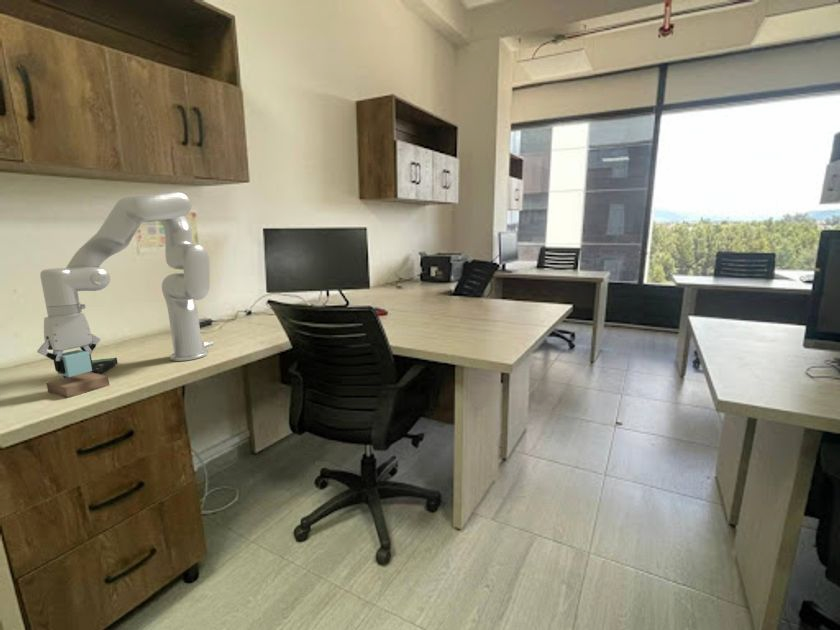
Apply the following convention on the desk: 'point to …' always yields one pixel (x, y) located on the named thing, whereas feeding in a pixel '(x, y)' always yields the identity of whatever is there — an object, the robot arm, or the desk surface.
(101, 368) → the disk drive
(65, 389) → the walnut base
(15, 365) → the desk surface
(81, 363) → the teal cube
